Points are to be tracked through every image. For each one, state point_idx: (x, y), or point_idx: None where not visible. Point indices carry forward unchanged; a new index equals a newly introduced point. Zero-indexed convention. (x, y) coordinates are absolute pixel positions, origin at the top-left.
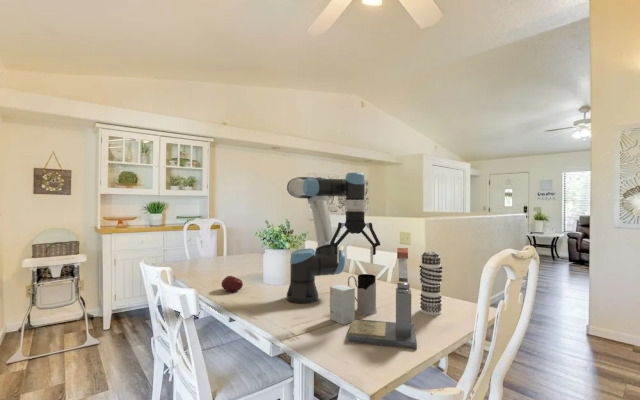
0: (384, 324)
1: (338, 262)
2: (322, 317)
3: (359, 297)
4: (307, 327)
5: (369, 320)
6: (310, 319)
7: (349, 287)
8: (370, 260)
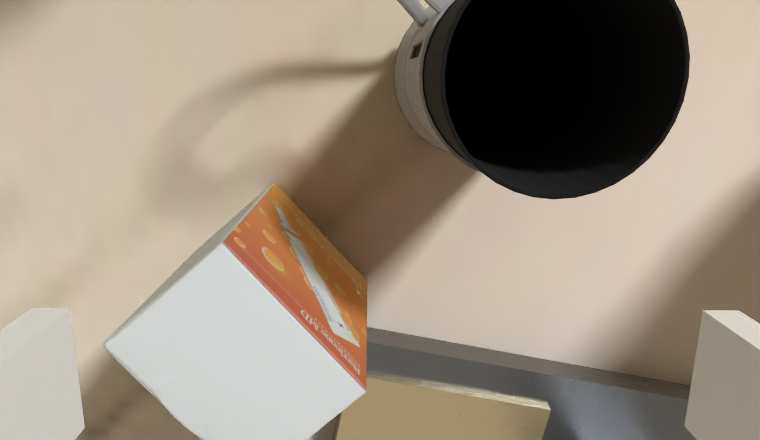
0: (534, 437)
1: (64, 437)
2: (145, 217)
3: (426, 126)
4: None
5: (456, 360)
6: (67, 257)
7: (313, 375)
8: (723, 345)
